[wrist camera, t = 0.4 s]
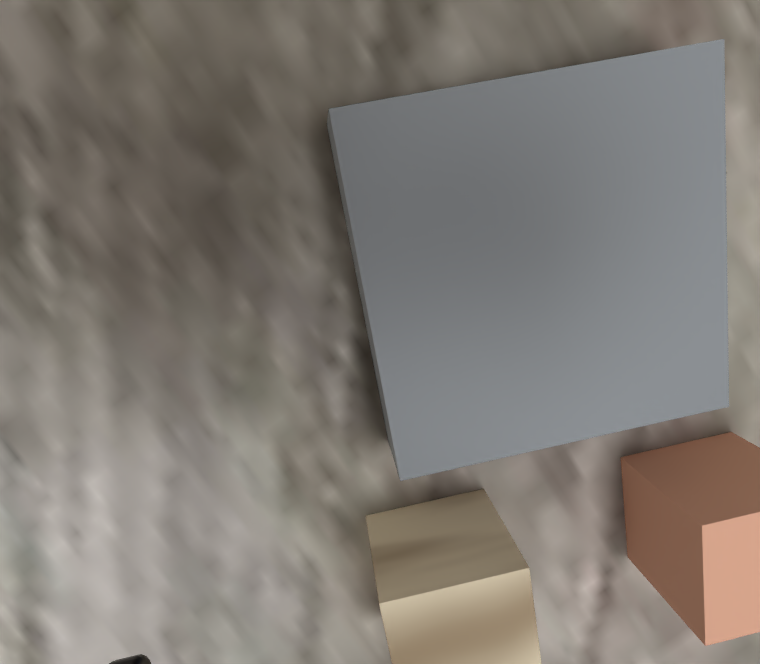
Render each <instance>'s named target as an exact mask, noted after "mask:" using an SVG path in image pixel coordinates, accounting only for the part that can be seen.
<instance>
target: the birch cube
mask: <svg viewBox="0 0 760 664" xmlns="http://www.w3.org/2000/svg"><path fill="white" fill-rule="evenodd" d="M366 522H367V528H368V535H369V541H370V548H371V554H372V561H373V568H374V574H375V581H376V587H377V594H378V600H379V606H380V610H381V615H382V620H383V624H384V629H385V633H386V638H387V643H388V647H389V652H390V656H391V661H392V664H541V657H540V649H539V641H538V633H537V625H536V617H535V609H534V601H533V594H532V586H531V578H530V570H529V567H528V565H527V563H526V561H525V560H524V558H523V556H522V554H521V553H520V551H519V549H518V548H517V546H516V544H515V542H514V541H513V539H512V537H511V535H510V534H509V532H508V530H507V528H506V527H505V525H504V523H503V521H502V520H501V518H500V516H499V515H498V513H497V511H496V509H495V508H494V506H493V504H492V502H491V501H490V499H489V497H488V495H487V494H486V492H485V490H484V489H480V490H476V491H472V492H467V493H463V494H459V495H454V496H450V497H446V498H441V499H437V500H432V501H428V502H424V503H419V504H415V505H411V506H406V507H402V508H398V509H393V510H389V511H384V512H380V513H376V514H371V515H367V516H366Z"/></svg>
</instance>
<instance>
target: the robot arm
mask: <svg viewBox="0 0 760 664" xmlns="http://www.w3.org/2000/svg"><path fill="white" fill-rule="evenodd" d="M110 664H151V662H150V660H149V659H148V657H147V656H145V655H142V654H139V655H135V656H131V657H127V658H123V659H119V660H115V661H113V662H111V663H110Z"/></svg>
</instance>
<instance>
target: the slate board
mask: <svg viewBox="0 0 760 664" xmlns="http://www.w3.org/2000/svg"><path fill="white" fill-rule="evenodd" d="M327 127H328V132H329V138H330V143H331V148H332V153H333V158H334V163H335V168H336V174H337V179H338V184H339V189H340V194H341V199H342V204H343V210H344V215H345V220H346V225H347V230H348V235H349V240H350V246H351V251H352V256H353V261H354V266H355V271H356V276H357V282H358V287H359V292H360V297H361V302H362V307H363V313H364V318H365V323H366V328H367V333H368V338H369V343H370V349H371V354H372V359H373V364H374V369H375V374H376V379H377V385H378V390H379V395H380V400H381V405H382V410H383V415H384V421H385V426H386V431H387V436H388V441H389V445H390V448H391V452H392V455H393V458H394V462H395V465H396V468H397V472H398V475H399V478H400V481H403V480H407V479H411V478H416V477H420V476H425V475H429V474H434V473H438V472H442V471H447V470H451V469H456V468H460V467H464V466H469V465H473V464H478V463H482V462H487V461H491V460H495V459H500V458H504V457H509V456H513V455H518V454H522V453H526V452H531V451H535V450H540V449H544V448H548V447H553V446H557V445H562V444H566V443H571V442H575V441H579V440H584V439H588V438H593V437H597V436H602V435H606V434H610V433H615V432H619V431H624V430H628V429H633V428H637V427H641V426H646V425H650V424H655V423H659V422H663V421H668V420H672V419H677V418H681V417H686V416H690V415H694V414H699V413H703V412H708V411H712V410H717V409H721V408H725V407H729V372H728V295H727V218H726V140H725V63H724V39H721V40H716V41H710V42H704V43H699V44H693V45H687V46H682V47H676V48H670V49H665V50H659V51H653V52H648V53H642V54H636V55H631V56H625V57H619V58H614V59H608V60H602V61H597V62H591V63H585V64H580V65H574V66H568V67H563V68H557V69H551V70H546V71H540V72H534V73H529V74H523V75H517V76H511V77H506V78H500V79H494V80H489V81H483V82H477V83H472V84H466V85H460V86H455V87H449V88H443V89H438V90H432V91H426V92H421V93H415V94H409V95H404V96H398V97H392V98H387V99H381V100H375V101H370V102H364V103H358V104H353V105H347V106H341V107H336V108H330V109H329V111H328V118H327Z"/></svg>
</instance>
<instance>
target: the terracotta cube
mask: <svg viewBox="0 0 760 664" xmlns="http://www.w3.org/2000/svg"><path fill="white" fill-rule="evenodd" d="M621 470H622V484H623V498H624V512H625V526H626V540H627V554H628V558H629V559H630V560H631V561H632V563H633V564H634V565H635V566H636V567H637V568H638V569H639V571H640V572H641V573H642V574H643V575H644V576H645V577H646V579H647V580H648V581H649V582H650V583H651V584H652V585H653V587H654V588H655V589H656V590H657V591H658V592H659V593H660V595H661V596H662V597H663V598H664V599H665V600H666V601H667V603H668V604H669V605H670V606H671V607H672V608H673V609H674V611H675V612H676V613H677V614H678V615H679V616H680V617H681V619H682V620H683V621H684V622H685V623H686V624H687V625H688V627H689V628H690V629H691V630H692V631H693V632H694V633H695V634H696V636H697V637H698V638H699V639H700V640H701V641H702V642H703V644H704V645H705V646H707V645H711V644H715V643H719V642H722V641H726V640H730V639H734V638H738V637H742V636H746V635H749V634H753V633H757V632H760V448H759V447H757V446H755V445H754V444H752V443H750V442H748V441H746V440H745V439H743V438H741V437H739V436H737V435H736V434H734V433H732V432H729V433H724V434H720V435H716V436H711V437H707V438H702V439H698V440H694V441H689V442H685V443H681V444H676V445H672V446H668V447H663V448H659V449H655V450H650V451H646V452H641V453H637V454H633V455H628V456H624V457H621Z"/></svg>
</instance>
